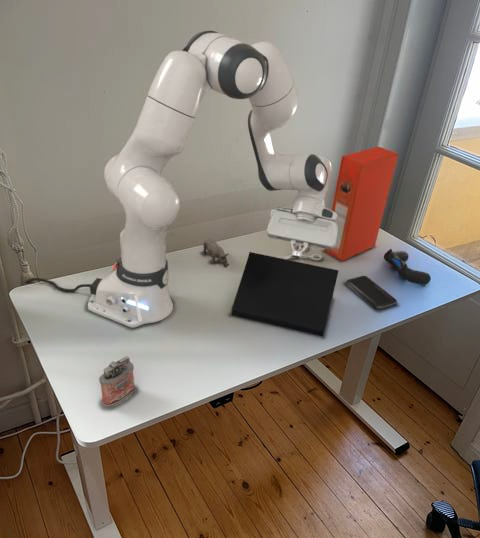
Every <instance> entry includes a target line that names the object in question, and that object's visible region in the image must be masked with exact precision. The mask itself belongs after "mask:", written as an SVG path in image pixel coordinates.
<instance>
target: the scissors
mask: <svg viewBox="0 0 480 538" xmlns="http://www.w3.org/2000/svg"><path fill="white" fill-rule="evenodd" d="M302 249H303V244H299V245H298V249H296V251H301V250H302ZM308 250H309V245H308V249H307V250H306V251H308ZM276 257H277V258H282V259H286V260H291V259H295V258H294V257H291V254H288V255H279V256H278V255H277V256H276ZM301 259H306V260H307V259H310V260H312V261H321V260H322V259H323V255H321V254H319V253H311V255H304V254H302V258H301Z"/></svg>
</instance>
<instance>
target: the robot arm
mask: <svg viewBox="0 0 480 538" xmlns="http://www.w3.org/2000/svg"><path fill="white" fill-rule="evenodd" d="M212 90H213V91H214V92H216V93H219V94H222V95H225V96H227V97H228V98H231V99H233V100H234V99H235V100H246V99H248V100H249V102H250V105H251V110H250V111H249V113H248V116H247V129H248V133H249V138H250V142H251V145H252V150H253V153H254V157H255V160H256V164H257V175H258V179H259V182H260V184H261V185H262V186H263V188H265V189H266V190H267V191H270V192H274V191H297V194H296V196H295V197H294V201H293V206H292V208H287V207H282V206H277V207H274V208H272V209H271V211H270V214H269V219H270V220H269V222H268V224H267V228H266V235H267V236H268V238H270V239H274V240H275V239H276V240H280V241H285V242H289V243H290V248H291V253H290V255H291V257H294V258H293V259H299V260H301V259H303V258H302V255H304V253H305V252H306V251H308V250H309V247H308V246H311V247H314V248H320V249H329V250H332V249H334V248H335V245H336V240H337V224H336V222H337V214H336V213H335V212H333V211H332V209H330V208H328V207H326V196H327V195H328V193H329V189H330V184H331V179H332V163H331V161H330V160H329V159H328V158H327V157H325V156H323V155H319V154H313V153H289V154H285V153H284V154H283V153H279V152H276V151H275V150H274V146H273V141H272V136H271V133H272V132H273V131H276V130H279V129H280V128H282V127H284V126H285V125H286V124H287V123H288V122H289V121H290V120H291V119H292V118H293V116H294V115H295V113H296V111H297V108H298V103H299V98H298V92H297V89H296V85H295V83H294V80H293V78H292V75H291V72H290V69H289V67H288V65H287V63H286V61H285V59H284V58H283V56H282V54H281V52H280V50H279V49H278V47H277V46H276V45H275V44H274V43H271V42H270V41H265V40H263V41H258V42H254V43H253V44H251V45H250V44H248V43H243V41H240V40H238V39H237V38H236V37H234V36H232V35H228V34H226V33H220V32H217V31H215V30H203V31H200V32H198V33H196V34H195V35H193V36H192V37H191V38H190V39H189V40H188V42H187V43H186V45H185V46H184V47H183V48H182V50H174V51H173V50H172V51H171V52H169V53H168V54H167V55H166V56H165V58H164V59H163V60H162V62H161V64H160V66H159V67H158V69H157V72H156V73H155V76H154V78H153V80H152V82H151V85H150V87H149V90H148V92H147V95H146V98H145V101H144V104H143V105H142V109H141V111H140V114H139V117H138V120H137V122H136V125H135V127H134V130H133V131H132V133H131V135H130V137H129V138H128V140H127V142H126V143H125V144H124V146H123V147H122V149H121V150H120V152H119V153H118V154H116V155H114V156H112V157H111V158H110V159H109V160H108V162H107V163H106V165H105V167H104V171H103V177H104V180H105V183H106V186H107V188H108V191H109V192H110V194H111V195H112V197H113V198H114V199H116V201H117V202H119V204H120V205H121V206H122V208H123V211H124V214H125V224H124V228H123V229H121V232H120V233H119V245H120V257H119V258H117V259H116V261H115V263H114V264H113V266H112V271H110V272H108V273H107V274H106V275H104V277H103V278H101V277H96V278H95V279H94V281H93V282H92V283H84V284H79V285H77V286H75V288H63V287H60V286H58V285H57V284H56V283H55V282H54V281H52V280H49V279H45V278H40V277H32V278H29V279H27V280H26V281H24V283H25V284H29V283H31V282H34V281H37V282H43V283H47V284H51V285H52V286H53V287H54V288H55V289H57V290H59V291H62V292H67V293H74V292H76V291H78V290H79V289H80V288H89V290H90V295H91V296H90V297H89V298H88V302H87V310H88V311H89V312H92V313H94V314H96V315H99V316H102V317H104V318H107V319H109V320H112V321H114V322H116V323H119V324H121V325H124V326H127V327H128V328H131V329H132V328H133V329H135V328H138V327H140V326H143V325H145V324H152V323H153V324H154V323H157V322H160V321H162V320H164V319H166V318H168V317H169V316H170V315H171V314H172V312H173V310H174V302H173V301H172V298H171V294H170V290H169V283H168V282H169V275H170V274H169V272H170V271H169V262H168V259H167V233H168V228H169V226H171V224H172V223H174V222H175V221H176V219H177V217H178V215H179V213H180V211H181V210H180V209H181V203H180V198H179V196H178V194H177V193H176V191H175V189H174V187H173V186H172V184H171V183H170V182H169V181H168V180H167V179H166V178H164V177H163V176H162V175H161V174H162V172H163V169H164V168H165V166H166V165H167V164H168V162H169V161H170V160H171V159H172V158H173V157H175V156H178V155H180V154H181V153H182V152H183V151H184V148H185V145H186V143H187V140H188V138H189V136H190V133H191V130H192V128H193V125H194V123H195V121H196V118H197V116H198V113H199V110H200V107H201V103H202V101H203V99H204V98H205V96H206V95H207V94H208V93H209V92H210V91H212ZM296 244H299V245H300V244H303V246H302V248H303V249H302V250H301V251H297V249H296V248H295V247H296ZM307 249H308V250H307Z"/></svg>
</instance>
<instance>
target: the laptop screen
mask: <svg viewBox="0 0 480 538" xmlns="http://www.w3.org/2000/svg"><path fill="white" fill-rule="evenodd" d="M338 276H339V269H334V268H329V267H325V266H319V265H315V264H310V263H305V262H301V261H297V260H296V261H295V260H291V259H287V260H286V259H283V258H277V256H272V255H266V254H262V253H257V252H252V251H249V252H248V256H247V260H246V263H245V266H244V268H243V272H242V275H241V278H240V282H239V284H238V286H237V287H238V288H237V291H236V294H235V297H234V301H233V303H232V306H231V311H232V310H235V311H239V312H243V313H248V314H252V315H256V316H261V317H265V318H269V319H274V320H278V321H283V322H287V323H291V324H296V325H300V326H304V327H309V328H313V329H317V330H322V331H324V332H326V331H325V330H326V327H327V323H326V322H328V319H329V315H330V311H329V310H331V307H330V305H331V306H332V303H331V301H332V302H333V299H332V297H333V298H334V292H335V289H336V284H337V280H338ZM328 314H329V315H328ZM327 318H328V319H327Z"/></svg>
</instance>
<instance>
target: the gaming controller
mask: <svg viewBox="0 0 480 538" xmlns="http://www.w3.org/2000/svg"><path fill="white" fill-rule="evenodd" d="M409 258H410V257H409V253H408V252H407V251H405V250H398V251H393V249H392V248H390V249H388V250H387V251H386V252H385V253H384V254H383V259H384V261H385V262H387V263H388V264H389V265H391V266H392V269H394V270H395V271H396V272H397V274H398V276H399V277H400V278H401V279H403V280H406V281H408V282H409V283H412V284H417V285H423V286H424V285H428V284H430V282H431V280H432V279H431V278H432V276H431V275H430V274H429V273H428V272H426V271H421V270H417V269H413V268H410V267H409V266H408V264H407V263H406V262H407V261H408V260H409Z"/></svg>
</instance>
